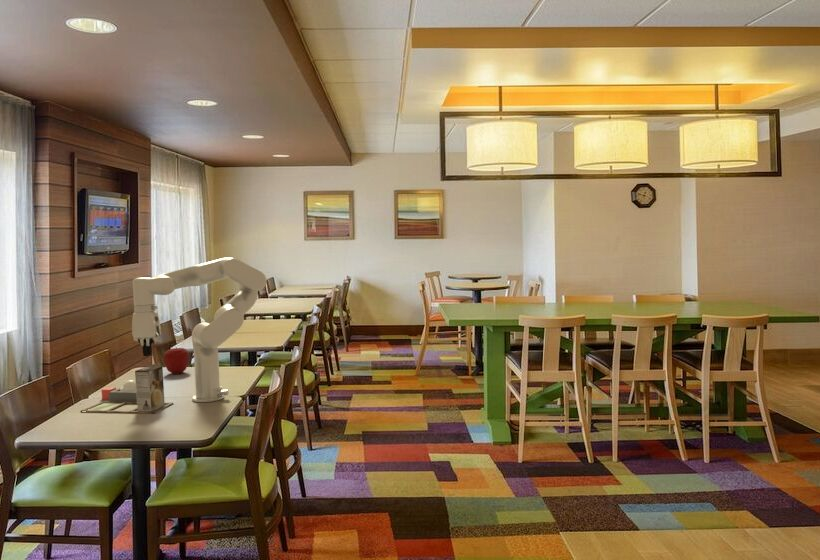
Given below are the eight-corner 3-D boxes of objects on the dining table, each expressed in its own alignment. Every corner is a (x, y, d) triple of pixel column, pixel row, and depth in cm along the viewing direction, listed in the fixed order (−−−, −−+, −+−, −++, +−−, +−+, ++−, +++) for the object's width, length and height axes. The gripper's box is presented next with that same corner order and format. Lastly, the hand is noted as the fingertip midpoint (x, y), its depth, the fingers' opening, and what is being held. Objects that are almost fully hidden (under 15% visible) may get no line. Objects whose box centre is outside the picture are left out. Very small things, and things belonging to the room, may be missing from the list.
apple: (184, 369, 332) (183, 343, 331) (193, 373, 323) (192, 346, 322) (160, 373, 324) (159, 346, 323) (169, 377, 315) (167, 349, 314)
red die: (116, 396, 278) (115, 387, 277) (110, 399, 274) (110, 389, 273) (107, 396, 278) (107, 386, 278) (102, 399, 274) (101, 389, 274)
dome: (145, 392, 278) (144, 378, 277) (134, 396, 270) (133, 382, 269) (127, 391, 279) (126, 377, 278) (116, 396, 271) (115, 382, 271)
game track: (173, 404, 263) (173, 402, 263) (154, 413, 249) (154, 412, 249) (103, 402, 268) (102, 401, 268) (80, 412, 254) (80, 410, 254)
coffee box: (150, 405, 262) (148, 365, 261) (165, 405, 261) (163, 365, 260) (136, 411, 253) (134, 370, 252) (151, 412, 252) (149, 370, 251)
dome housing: (152, 395, 279) (151, 385, 279) (136, 402, 268) (135, 392, 267) (126, 394, 281) (125, 385, 281) (109, 401, 269) (108, 392, 269)
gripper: (167, 307, 257) (170, 353, 259) (133, 308, 260) (136, 353, 261) (156, 310, 250) (159, 357, 251) (121, 310, 253) (124, 357, 254)
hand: (147, 355), depth 256 cm, fingers closed
